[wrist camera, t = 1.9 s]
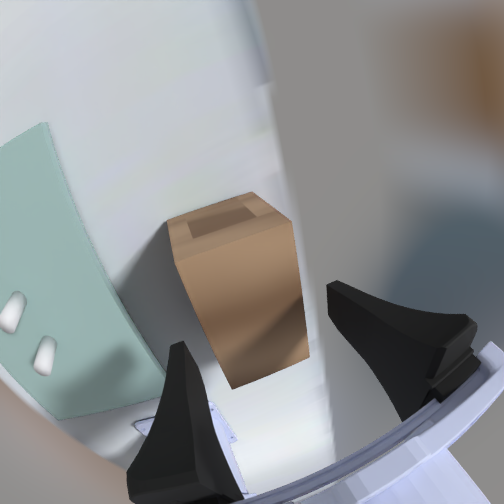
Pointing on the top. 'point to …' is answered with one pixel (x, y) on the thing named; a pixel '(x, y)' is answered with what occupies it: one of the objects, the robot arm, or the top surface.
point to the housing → (243, 285)
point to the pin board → (61, 295)
